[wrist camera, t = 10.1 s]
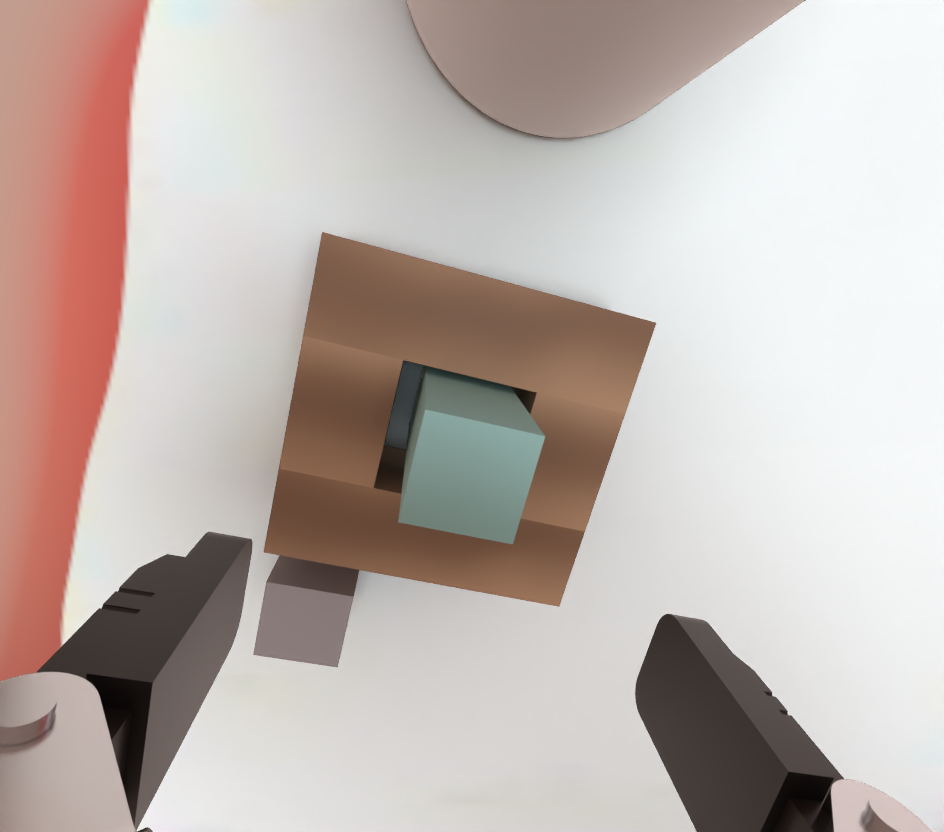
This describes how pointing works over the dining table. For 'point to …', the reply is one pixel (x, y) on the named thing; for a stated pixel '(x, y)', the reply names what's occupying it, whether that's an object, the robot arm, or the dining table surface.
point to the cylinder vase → (581, 54)
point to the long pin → (468, 457)
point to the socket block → (460, 351)
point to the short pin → (305, 611)
